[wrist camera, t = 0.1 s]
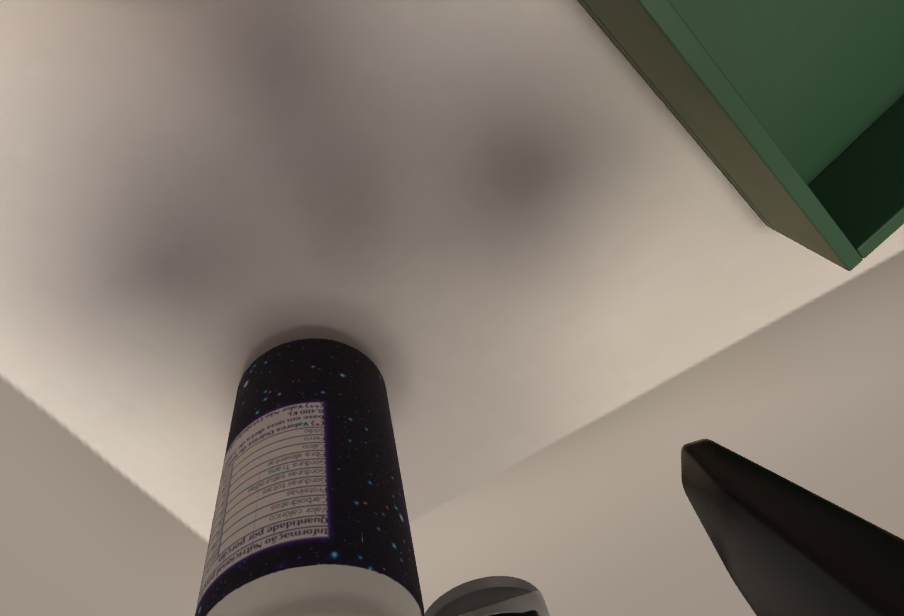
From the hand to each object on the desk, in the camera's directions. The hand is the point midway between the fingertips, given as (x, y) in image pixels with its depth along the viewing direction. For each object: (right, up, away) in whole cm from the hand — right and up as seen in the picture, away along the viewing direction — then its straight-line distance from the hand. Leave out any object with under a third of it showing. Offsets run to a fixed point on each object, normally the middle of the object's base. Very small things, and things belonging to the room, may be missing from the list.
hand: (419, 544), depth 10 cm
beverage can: (-5, +1, +15) cm, 16 cm away
